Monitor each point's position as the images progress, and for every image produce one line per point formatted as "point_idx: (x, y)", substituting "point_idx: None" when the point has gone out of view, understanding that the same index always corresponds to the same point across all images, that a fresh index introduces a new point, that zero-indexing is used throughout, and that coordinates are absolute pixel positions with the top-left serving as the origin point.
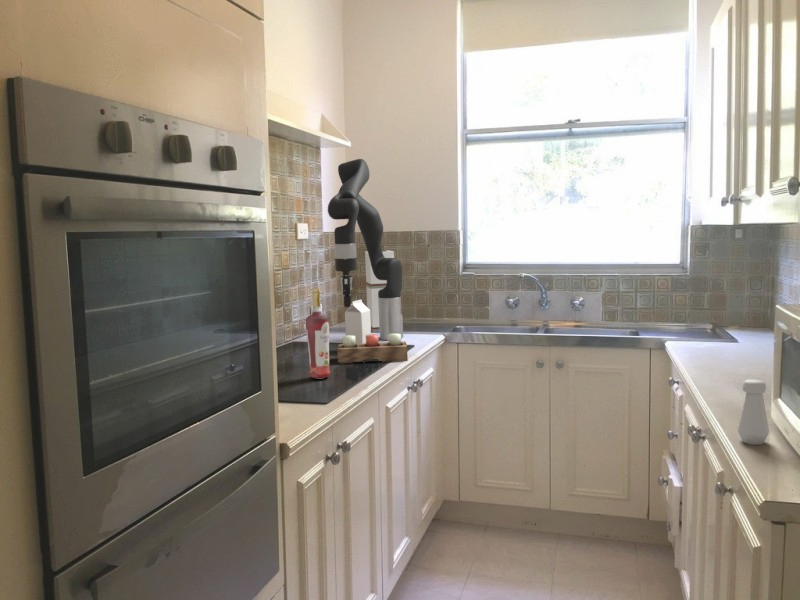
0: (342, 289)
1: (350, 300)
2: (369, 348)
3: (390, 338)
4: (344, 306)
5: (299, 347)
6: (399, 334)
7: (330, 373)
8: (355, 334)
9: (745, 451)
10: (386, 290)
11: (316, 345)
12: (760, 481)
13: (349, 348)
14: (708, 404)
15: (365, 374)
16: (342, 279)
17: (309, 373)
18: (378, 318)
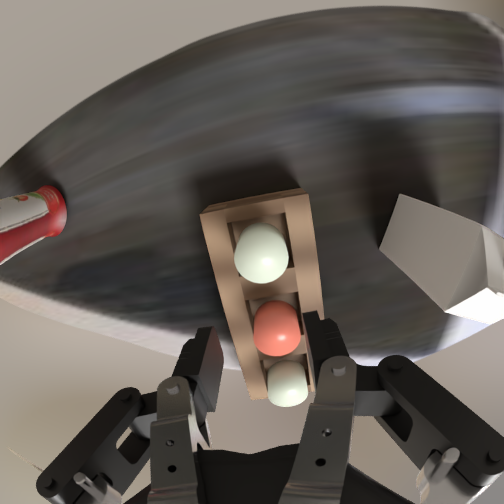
0: (179, 416)
1: (310, 366)
2: (227, 316)
3: (271, 380)
4: (199, 328)
5: (451, 47)
6: (284, 404)
7: (52, 236)
8: (412, 243)
9: (43, 469)
10: None
11: None
12: (17, 453)
13: (215, 255)
14: None
15: (100, 302)
16: (36, 486)
17: (39, 189)
18: None
